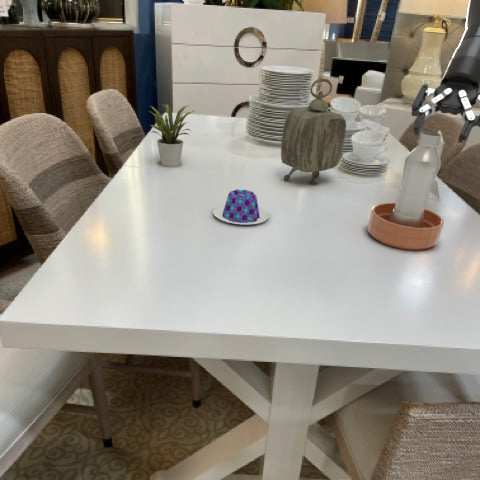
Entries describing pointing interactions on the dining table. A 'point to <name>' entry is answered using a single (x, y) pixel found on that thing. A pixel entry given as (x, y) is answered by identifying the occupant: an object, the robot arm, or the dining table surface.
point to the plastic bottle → (417, 181)
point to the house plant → (170, 136)
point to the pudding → (241, 209)
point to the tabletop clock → (313, 137)
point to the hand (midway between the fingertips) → (437, 136)
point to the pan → (404, 229)
